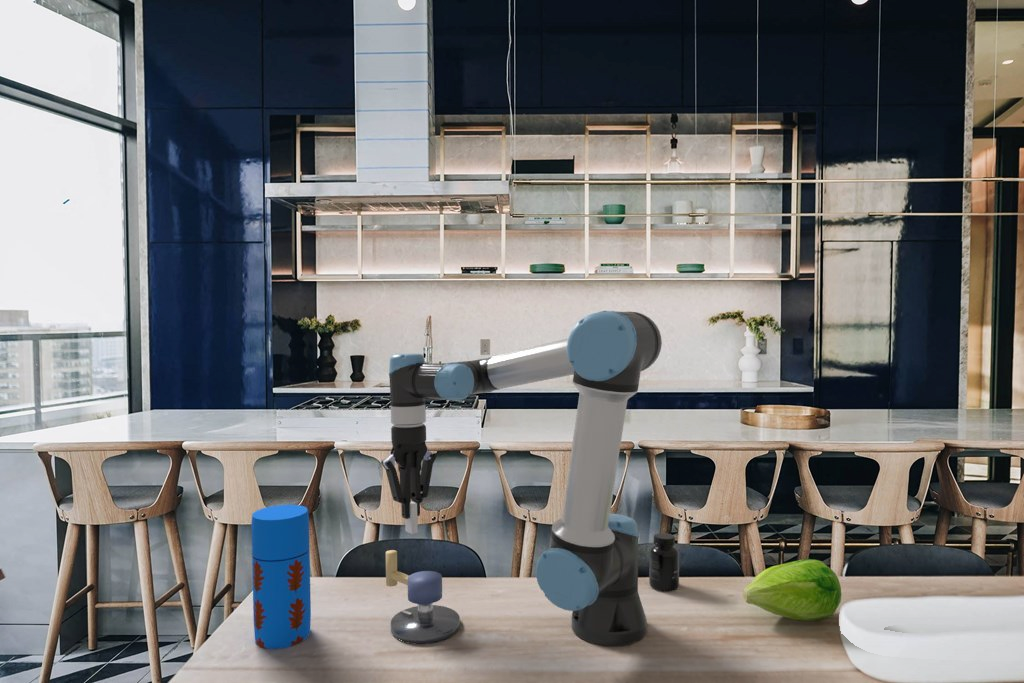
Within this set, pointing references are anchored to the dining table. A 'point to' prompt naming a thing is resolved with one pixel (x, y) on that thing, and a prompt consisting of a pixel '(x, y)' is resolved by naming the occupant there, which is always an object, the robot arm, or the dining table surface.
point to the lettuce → (796, 590)
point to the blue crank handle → (414, 581)
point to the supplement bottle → (664, 563)
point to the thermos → (281, 575)
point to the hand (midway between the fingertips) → (411, 531)
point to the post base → (425, 624)
